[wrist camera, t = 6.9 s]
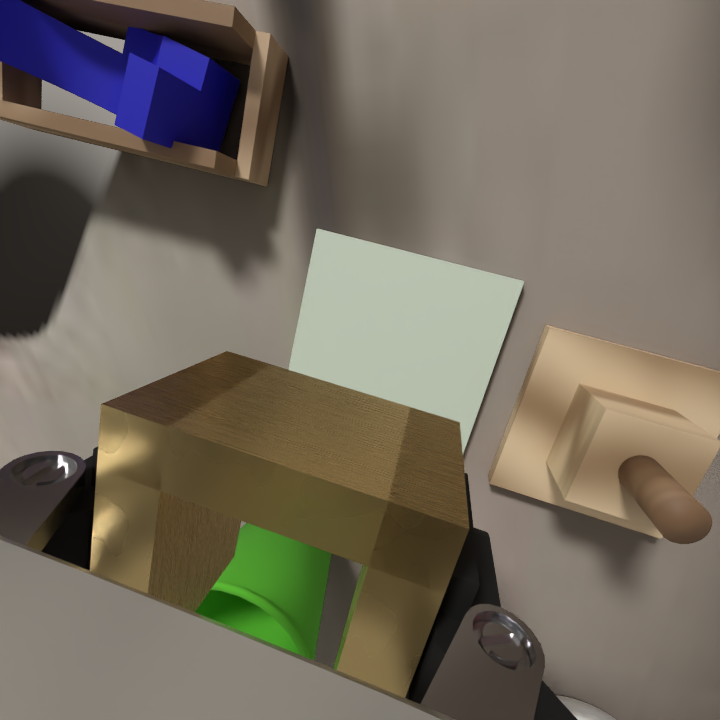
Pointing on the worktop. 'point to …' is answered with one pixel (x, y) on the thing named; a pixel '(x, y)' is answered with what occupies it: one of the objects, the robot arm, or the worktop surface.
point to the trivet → (402, 326)
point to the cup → (272, 590)
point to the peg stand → (613, 435)
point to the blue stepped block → (125, 76)
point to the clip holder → (190, 28)
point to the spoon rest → (584, 710)
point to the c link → (284, 495)
